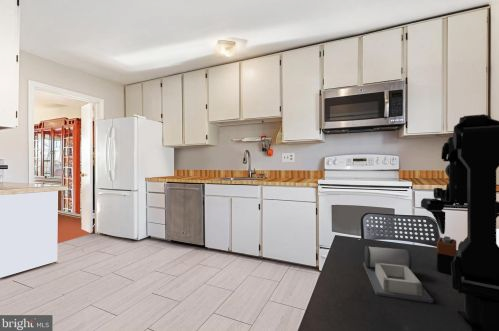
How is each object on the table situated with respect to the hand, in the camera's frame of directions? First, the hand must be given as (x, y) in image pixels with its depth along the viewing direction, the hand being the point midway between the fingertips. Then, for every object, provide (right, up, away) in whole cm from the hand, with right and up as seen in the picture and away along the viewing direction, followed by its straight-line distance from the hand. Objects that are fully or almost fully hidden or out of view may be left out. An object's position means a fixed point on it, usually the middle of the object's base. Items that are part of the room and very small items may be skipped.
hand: (461, 235), depth 72 cm
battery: (-1, -12, +4) cm, 13 cm away
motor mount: (-22, -12, -3) cm, 25 cm away
